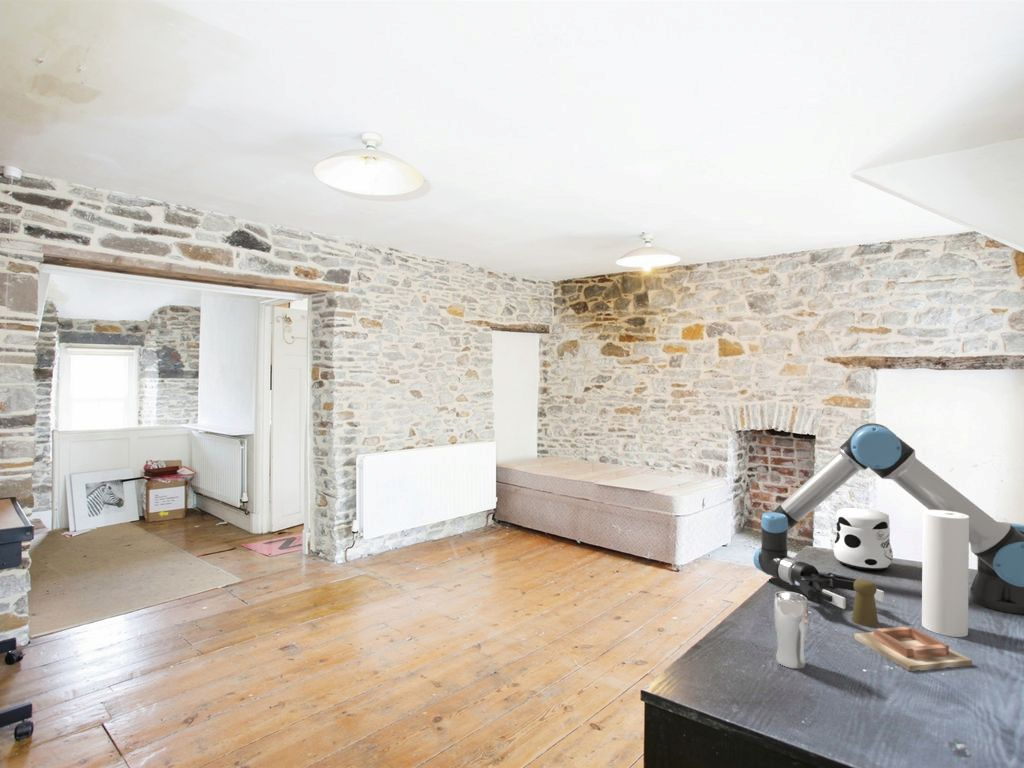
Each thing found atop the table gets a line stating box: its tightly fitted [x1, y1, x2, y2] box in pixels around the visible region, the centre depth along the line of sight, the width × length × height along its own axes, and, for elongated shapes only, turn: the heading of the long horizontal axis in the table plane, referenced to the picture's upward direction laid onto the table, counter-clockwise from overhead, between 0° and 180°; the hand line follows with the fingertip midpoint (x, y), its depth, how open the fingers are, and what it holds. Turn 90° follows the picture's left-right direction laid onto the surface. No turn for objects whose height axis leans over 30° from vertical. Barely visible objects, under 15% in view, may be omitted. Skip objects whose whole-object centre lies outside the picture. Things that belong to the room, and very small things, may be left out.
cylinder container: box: [921, 509, 970, 638], centre depth 145 cm, size 9×9×30 cm
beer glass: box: [773, 590, 809, 670], centre depth 128 cm, size 7×7×15 cm
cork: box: [851, 578, 879, 628], centre depth 149 cm, size 6×6×11 cm
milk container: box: [833, 507, 894, 571], centre depth 194 cm, size 17×17×18 cm
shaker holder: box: [853, 625, 973, 672], centre depth 133 cm, size 16×16×3 cm
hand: (864, 600), depth 149 cm, fingers open, 13 cm apart
